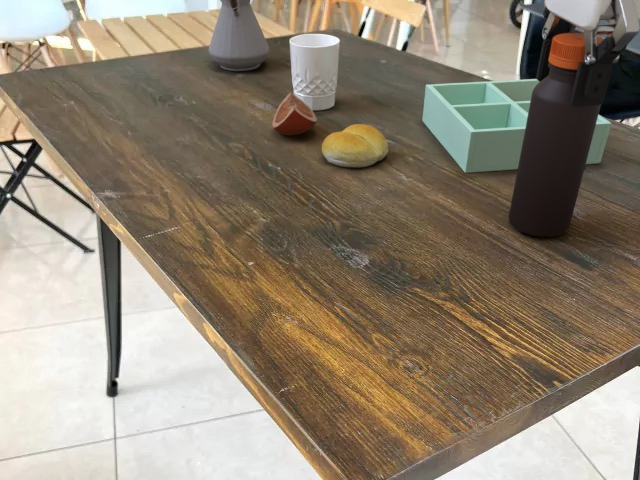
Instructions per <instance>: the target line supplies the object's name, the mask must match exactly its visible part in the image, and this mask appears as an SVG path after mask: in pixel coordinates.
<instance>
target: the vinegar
mask: <svg viewBox="0 0 640 480" xmlns="http://www.w3.org/2000/svg"><path fill="white" fill-rule="evenodd" d="M604 39H605V38H603V37H601V36H600V35H597V46H598V45H599V44H600V43H601V42H602V41H603V40H604ZM548 61H549V64H548V67H549V68H550V72H549V75H548V76H547V77H546V78H544V79H543V80H542V81H541V82H539V83H538V84H537V85H536V86H535V88H534V90H533V92H532V96H531V102H530V107H529V112H528V118H527V123H526V128H525V133H524V139H523V144H522V149H521V154H520V160H519V165H518V169H516V176H515V182H514V187H513V190H512V191H513V192H512V197H511V203H510V207H509V213H508V219H509V223H510V225H511V226H512V227H513V228H515V230H518V231H519V232H521V233H523V234H526V235H528V236H533V237H537V238H540V237H541V238H550V237H551V238H552V237H557V236H560V235H564V234H565V233H566V232H568V230H569V229H570V227H571V223H572V219H573V215H574V212H575V207H576V203H577V199H578V195H579V193H580V188H581V184H582V181H583V177H584V172H585V168H586V165H587V164H586V161H587V157H588V153H589V149H590V145H591V142H592V138H593V134H594V130H595V126H596V122H597V118H598V114H599V115H600V110H601V107H602V104H601V105H592V106H578V107H574V106H573V105H571V103H570V100H571V96H572V91H573V87H574V82H575V78H576V73H577V69H578V65H579V62H585V60H584V33H583V32H573V33H563V34H558V35H556V36H554V37H553V40H552V45H551V50H550V55H549V60H548Z"/></svg>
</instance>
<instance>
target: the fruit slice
mask: <svg viewBox="0 0 640 480" xmlns="http://www.w3.org/2000/svg"><path fill="white" fill-rule="evenodd" d="M317 122H318V118H317V116H316V114H315V112H314V111H312V109H311V108H310V107H309V106H308V105H306V104H305V103H304V102H303V101H302V100H301V99H299V98H298V97H297V96H295V94H294V92H292V91H289V93H287V95H286V96H285V97H284V98H283V99H282V100H281V101H280V102H279V104H278V106H277V108H276V111H275V114H274V116H273V119H272V123H271V128H272V129H274V130H275V131H276V132H277V133H279V134H282V135H284V136H297V135H300V134H303V133H305V132H307V131H308V130H310V129H311V128H313V127H314V126H315V125H316V124H317Z"/></svg>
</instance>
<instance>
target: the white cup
mask: <svg viewBox="0 0 640 480" xmlns="http://www.w3.org/2000/svg"><path fill="white" fill-rule="evenodd" d="M340 45H341V40H340V38H339V37H337V36H334V35H331V34H324V33H304V34H298V35H295V36H292V37H291V38H289V56H290V72H291V82H292V84H291V85H292V87H293V88H292V89H293V94H295V96H297V97H298V98H299V99H301V100H302V101H303V102H304V103H305V104H306V105H308V106H309V107H310V108H311V109H312V111H313V112H314V111H316V112H317V111H325V110H329V109H331V108H333V107H334V106H335V104H336V93H337V87H338V77H339V62H340V48H341V47H340Z"/></svg>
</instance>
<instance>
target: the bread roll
mask: <svg viewBox="0 0 640 480" xmlns="http://www.w3.org/2000/svg"><path fill="white" fill-rule="evenodd" d="M388 152H389V144H388V141H387V138H386V137H385V136H384V135H383V133H382V132H381V131H380V129H378V128H375V127H374V126H371V125H368V124H363V123H355V124H354V123H353V124H351V125H348V126H347V127H345V128H344V129H343V130H342V131H334V132H332V133H330V134H329V135H327V136H326V137H325V138H324V140H323V141H322V143H321V153H322V155H323V156H324V158H325V159H326V161H327V162H328V163H330V164H332V165H334V166H338V167H343V168H366V167H369V166H372V165H375V164H376V163H377V162H381V161H382V160H383V159H385V157H386V156H387V154H388Z"/></svg>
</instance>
